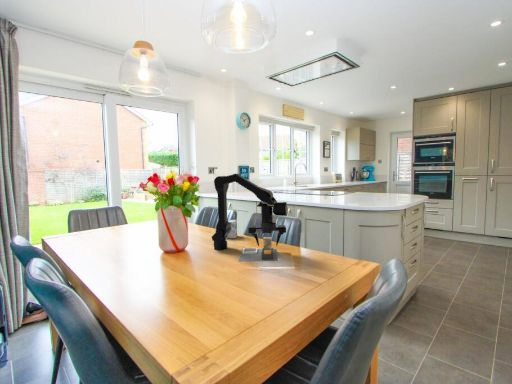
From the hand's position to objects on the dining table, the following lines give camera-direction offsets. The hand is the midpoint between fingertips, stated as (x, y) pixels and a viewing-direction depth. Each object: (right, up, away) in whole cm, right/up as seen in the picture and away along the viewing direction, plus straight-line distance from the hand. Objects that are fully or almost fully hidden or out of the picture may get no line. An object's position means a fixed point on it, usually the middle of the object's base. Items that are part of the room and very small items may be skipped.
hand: (267, 245), depth 132 cm
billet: (0, -3, 0) cm, 3 cm away
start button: (0, -3, -9) cm, 9 cm away
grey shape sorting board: (-5, -4, -4) cm, 8 cm away
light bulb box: (-24, -2, +36) cm, 43 cm away
